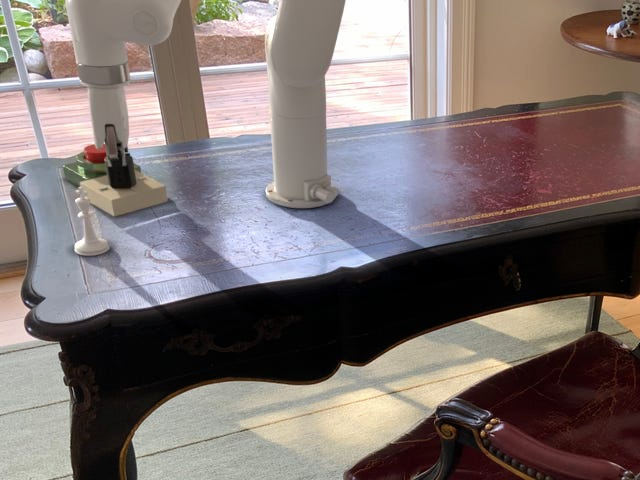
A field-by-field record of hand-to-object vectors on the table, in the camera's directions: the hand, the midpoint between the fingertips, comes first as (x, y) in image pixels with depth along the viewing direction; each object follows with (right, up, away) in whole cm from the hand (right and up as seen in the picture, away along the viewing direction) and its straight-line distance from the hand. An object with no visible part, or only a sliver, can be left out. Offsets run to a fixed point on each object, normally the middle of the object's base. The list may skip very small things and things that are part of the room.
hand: (122, 180), depth 139 cm
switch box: (-7, +2, +8) cm, 11 cm away
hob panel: (0, -3, +2) cm, 4 cm away
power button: (-7, +5, +6) cm, 11 cm away
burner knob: (0, 0, 0) cm, 0 cm away
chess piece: (+1, -14, -14) cm, 19 cm away
